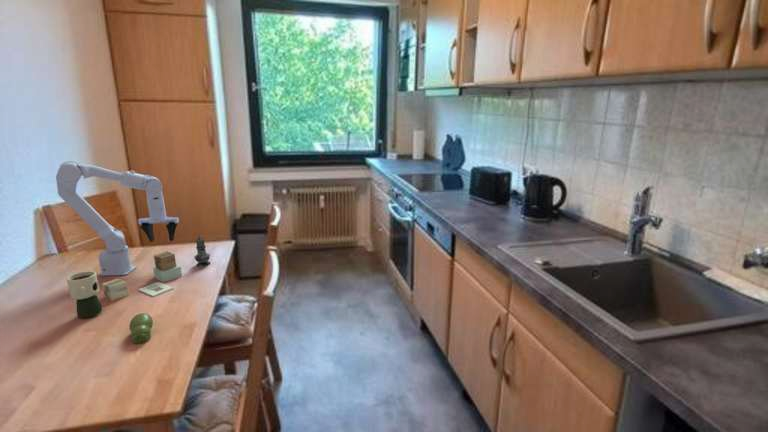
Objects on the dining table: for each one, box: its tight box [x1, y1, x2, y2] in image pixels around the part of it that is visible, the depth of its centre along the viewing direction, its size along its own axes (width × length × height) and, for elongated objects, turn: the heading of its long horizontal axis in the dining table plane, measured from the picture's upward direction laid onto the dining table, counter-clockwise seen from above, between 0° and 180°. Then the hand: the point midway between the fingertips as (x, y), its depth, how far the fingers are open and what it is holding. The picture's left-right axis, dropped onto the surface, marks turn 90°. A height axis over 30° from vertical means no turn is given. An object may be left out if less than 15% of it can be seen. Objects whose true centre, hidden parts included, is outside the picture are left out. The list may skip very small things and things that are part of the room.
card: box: [138, 281, 174, 298], centre depth 138 cm, size 9×7×1 cm
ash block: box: [101, 278, 129, 302], centre depth 133 cm, size 5×5×5 cm
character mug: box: [66, 270, 103, 318], centre depth 120 cm, size 11×7×13 cm, turn 34°
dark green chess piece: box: [193, 235, 211, 268], centre depth 158 cm, size 6×6×12 cm
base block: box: [152, 263, 183, 283], centre depth 148 cm, size 7×7×4 cm
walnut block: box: [153, 251, 177, 271], centre depth 147 cm, size 5×5×5 cm
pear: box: [129, 312, 154, 344], centre depth 110 cm, size 6×5×10 cm
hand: (162, 240), depth 159 cm, fingers open, 7 cm apart
